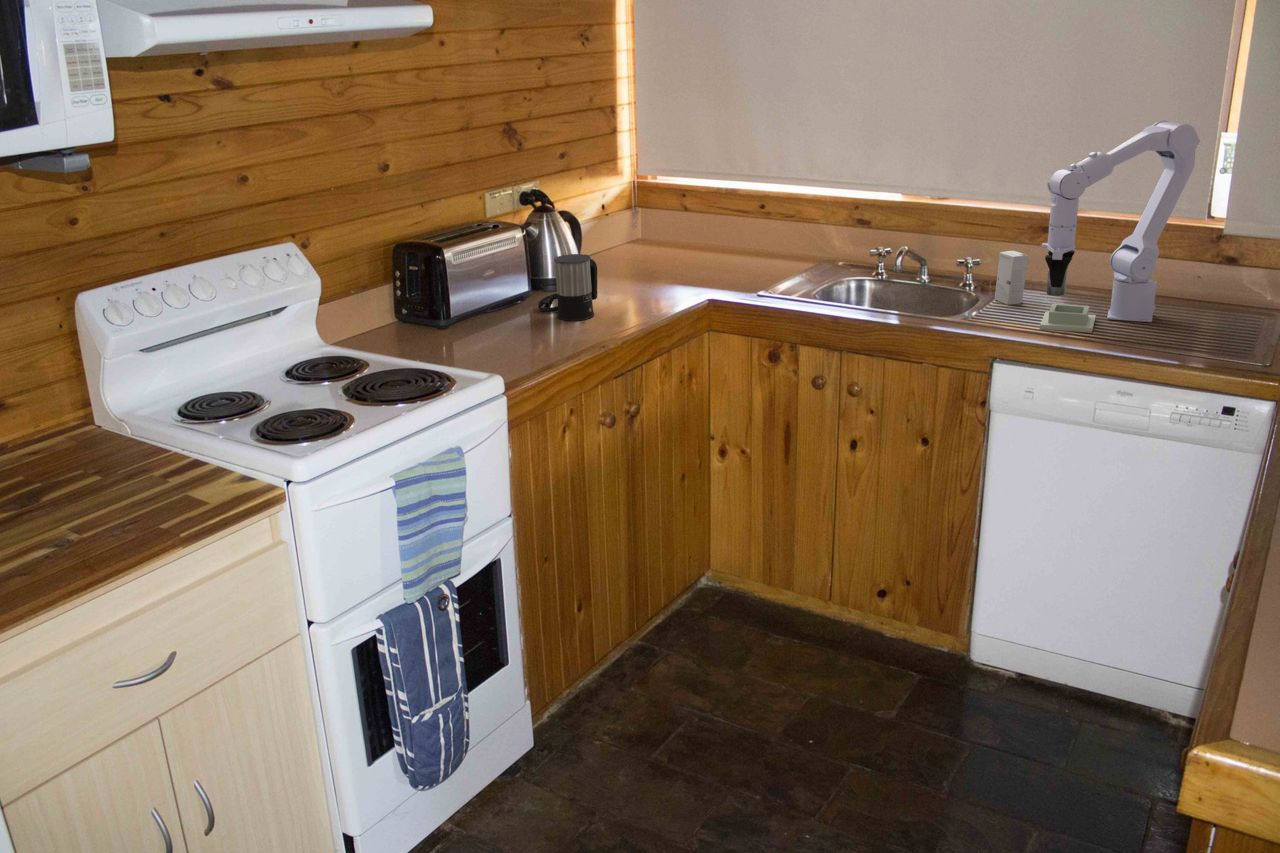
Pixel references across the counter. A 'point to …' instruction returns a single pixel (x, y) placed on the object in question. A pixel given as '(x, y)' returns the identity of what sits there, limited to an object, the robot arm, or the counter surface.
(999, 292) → the skincare box
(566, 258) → the milk frother
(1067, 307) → the socket stand
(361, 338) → the counter surface
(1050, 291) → the peg
